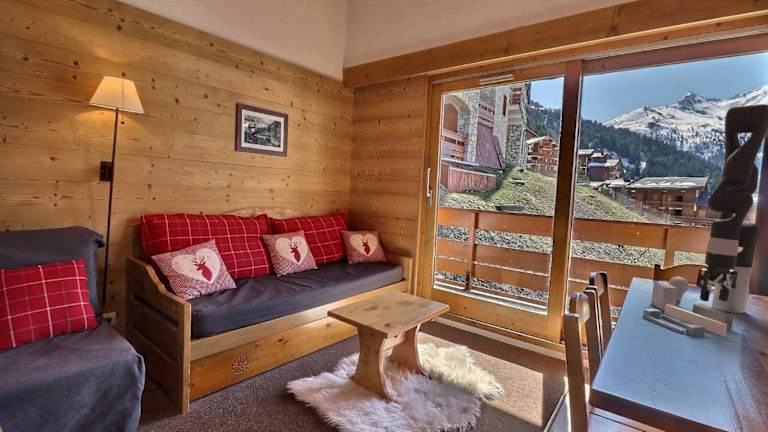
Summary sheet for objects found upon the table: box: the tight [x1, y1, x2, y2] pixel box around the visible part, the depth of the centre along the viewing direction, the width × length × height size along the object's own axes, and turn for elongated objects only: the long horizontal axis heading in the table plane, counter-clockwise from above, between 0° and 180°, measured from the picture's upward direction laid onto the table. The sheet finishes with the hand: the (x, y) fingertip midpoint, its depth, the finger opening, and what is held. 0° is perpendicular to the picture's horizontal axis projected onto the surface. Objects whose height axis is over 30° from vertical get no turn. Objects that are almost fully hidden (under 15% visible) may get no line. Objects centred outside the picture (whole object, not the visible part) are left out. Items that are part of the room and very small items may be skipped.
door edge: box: [663, 304, 728, 337], centre depth 124 cm, size 2×18×4 cm, turn 15°
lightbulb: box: [668, 276, 690, 306], centre depth 144 cm, size 6×6×11 cm
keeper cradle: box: [642, 308, 706, 337], centre depth 122 cm, size 8×16×2 cm, turn 16°
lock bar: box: [691, 303, 735, 331], centre depth 126 cm, size 4×10×5 cm, turn 14°
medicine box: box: [651, 281, 678, 312], centre depth 140 cm, size 8×4×9 cm, turn 168°
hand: (713, 300), depth 126 cm, fingers open, 8 cm apart
